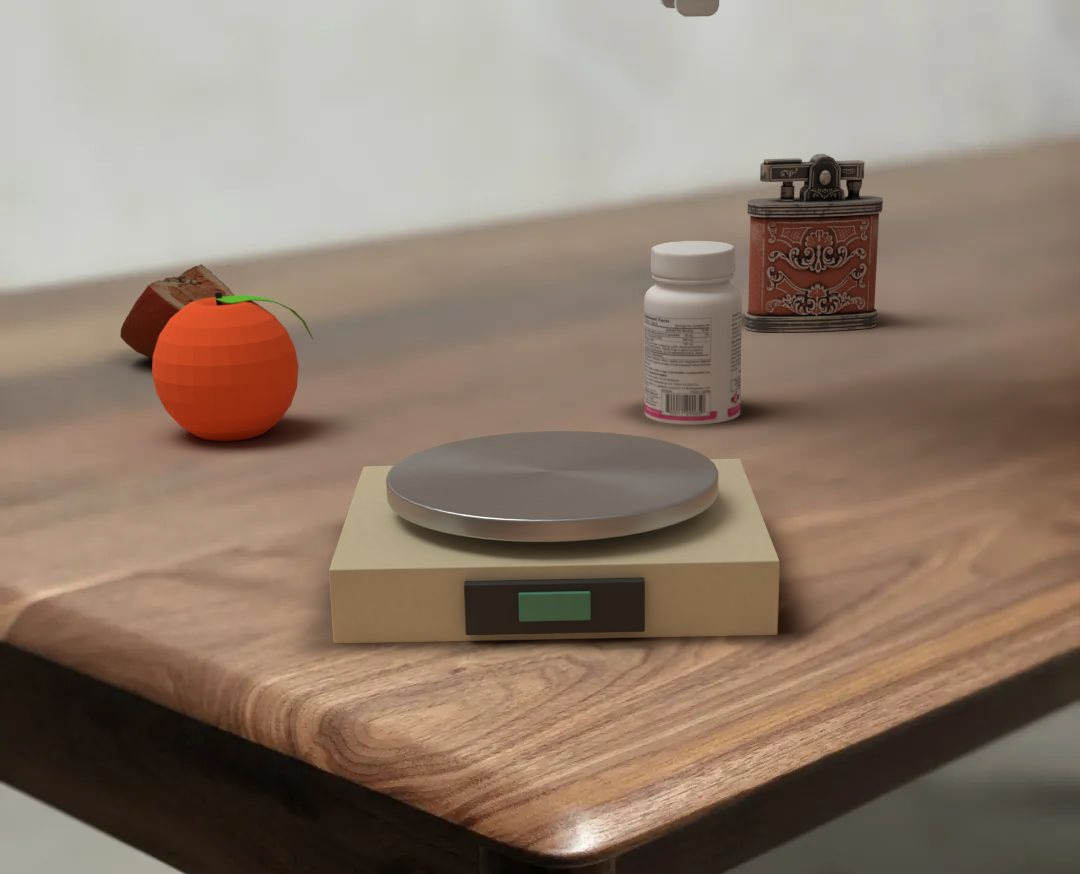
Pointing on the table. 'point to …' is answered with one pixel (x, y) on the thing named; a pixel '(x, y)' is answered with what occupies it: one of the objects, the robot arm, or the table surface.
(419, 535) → the scale
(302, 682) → the table surface
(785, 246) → the lighter
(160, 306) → the brown block
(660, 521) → the pan
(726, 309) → the pill bottle
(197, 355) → the clementine
